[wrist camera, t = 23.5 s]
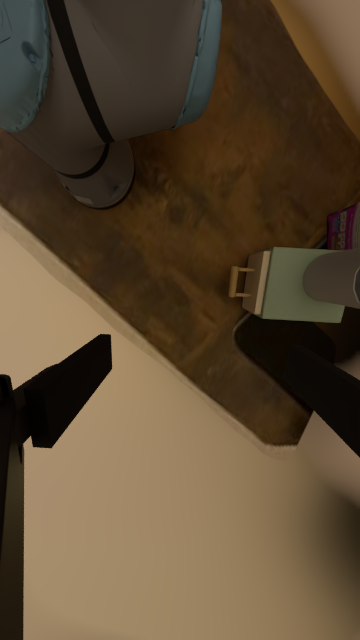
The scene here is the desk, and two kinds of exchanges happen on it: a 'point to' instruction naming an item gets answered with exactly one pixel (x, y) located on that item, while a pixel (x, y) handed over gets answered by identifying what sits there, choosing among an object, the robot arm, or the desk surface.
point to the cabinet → (294, 288)
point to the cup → (334, 278)
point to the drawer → (252, 281)
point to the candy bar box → (344, 229)
